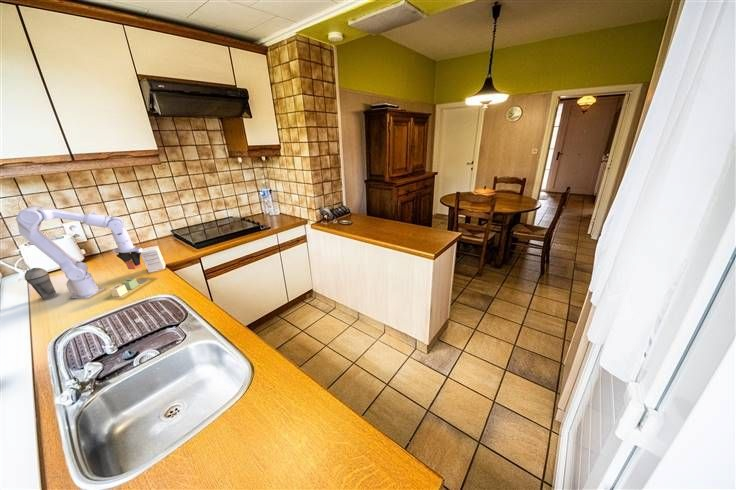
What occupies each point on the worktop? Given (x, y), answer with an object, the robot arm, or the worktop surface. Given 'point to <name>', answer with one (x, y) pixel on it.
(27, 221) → the robot arm
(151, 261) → the white packaging box
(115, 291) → the pale yellow cube
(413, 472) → the worktop surface
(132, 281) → the pale green cube
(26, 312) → the worktop surface
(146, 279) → the word mat
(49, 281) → the beverage cup
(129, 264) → the coral red cube
